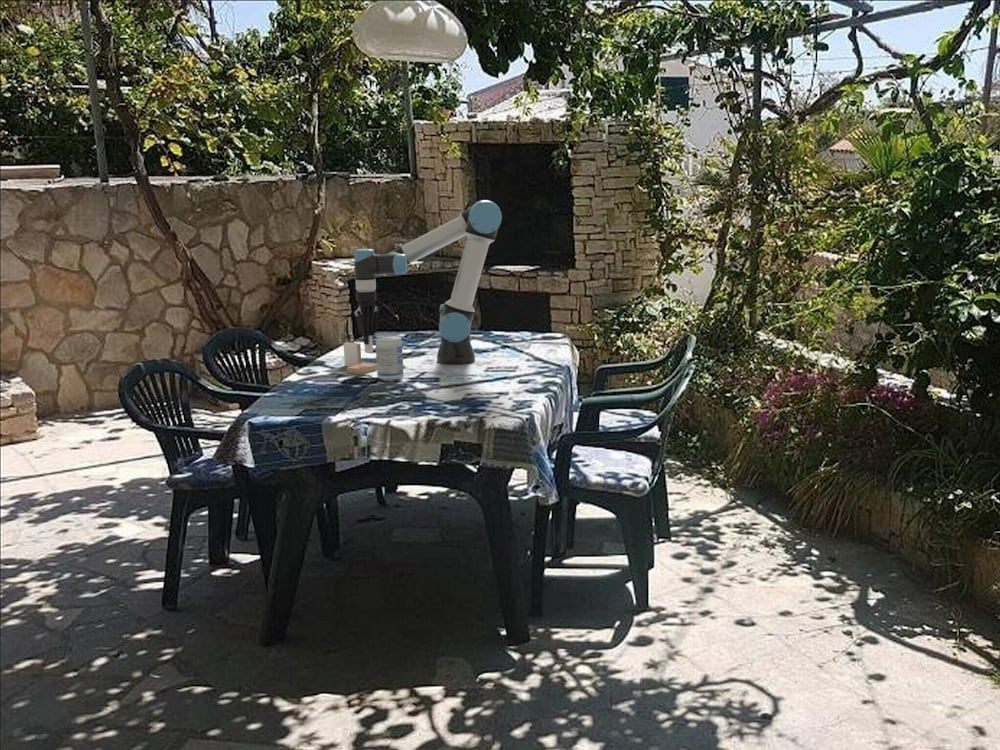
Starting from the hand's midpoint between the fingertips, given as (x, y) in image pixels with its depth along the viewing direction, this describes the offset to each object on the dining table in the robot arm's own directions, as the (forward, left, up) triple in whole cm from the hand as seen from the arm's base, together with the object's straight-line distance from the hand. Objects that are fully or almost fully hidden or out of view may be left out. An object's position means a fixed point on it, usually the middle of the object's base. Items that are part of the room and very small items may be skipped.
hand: (369, 352), depth 335 cm
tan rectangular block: (0, 0, -6) cm, 6 cm away
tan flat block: (+9, -1, -7) cm, 12 cm away
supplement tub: (-16, +7, -7) cm, 19 cm away
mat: (+5, +1, -7) cm, 8 cm away
